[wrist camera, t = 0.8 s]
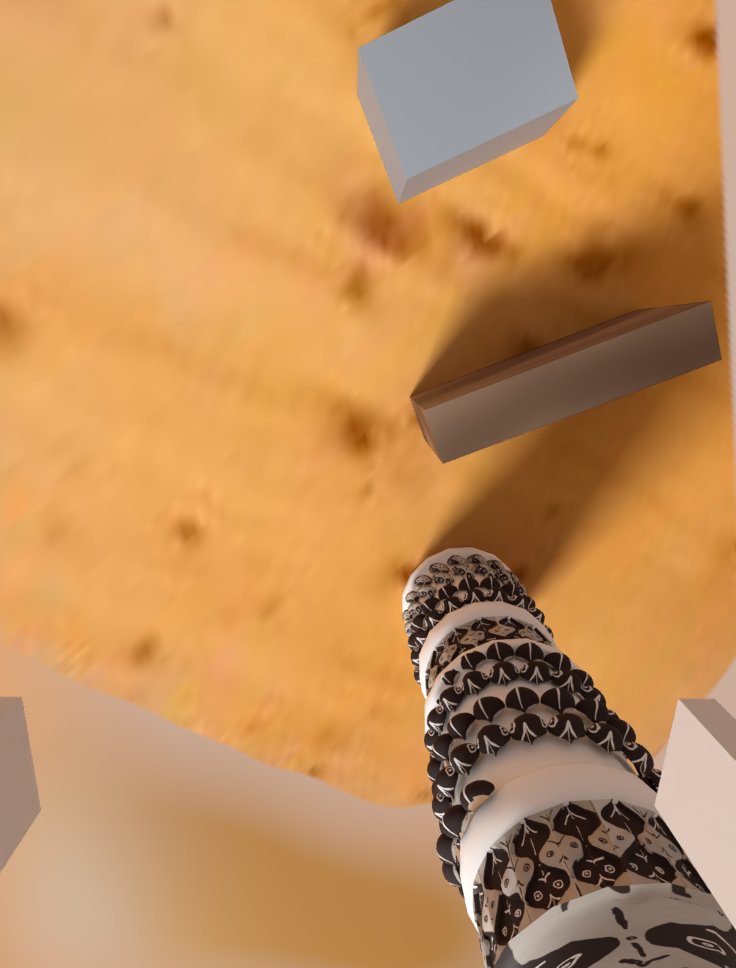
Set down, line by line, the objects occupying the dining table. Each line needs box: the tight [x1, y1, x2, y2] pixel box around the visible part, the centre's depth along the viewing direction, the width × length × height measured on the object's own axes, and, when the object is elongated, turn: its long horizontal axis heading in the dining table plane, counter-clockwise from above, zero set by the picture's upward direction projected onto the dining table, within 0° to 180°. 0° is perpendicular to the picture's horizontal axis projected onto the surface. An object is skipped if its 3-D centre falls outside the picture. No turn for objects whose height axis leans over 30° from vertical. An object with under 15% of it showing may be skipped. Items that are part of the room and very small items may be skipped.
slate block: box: [357, 0, 578, 204], centre depth 27 cm, size 6×9×5 cm, turn 113°
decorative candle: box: [402, 547, 736, 968], centre depth 25 cm, size 9×9×25 cm
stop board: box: [410, 301, 722, 463], centre depth 30 cm, size 3×15×7 cm, turn 111°
